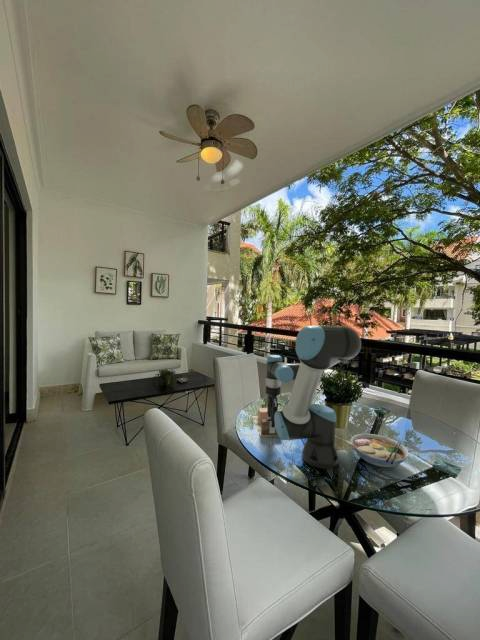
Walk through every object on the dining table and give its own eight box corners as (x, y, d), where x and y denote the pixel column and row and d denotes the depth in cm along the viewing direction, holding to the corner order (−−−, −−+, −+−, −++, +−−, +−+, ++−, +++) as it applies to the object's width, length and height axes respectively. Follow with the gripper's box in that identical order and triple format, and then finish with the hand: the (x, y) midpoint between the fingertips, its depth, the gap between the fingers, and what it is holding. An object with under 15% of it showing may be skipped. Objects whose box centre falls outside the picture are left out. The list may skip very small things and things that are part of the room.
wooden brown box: (283, 436, 148) (284, 421, 147) (260, 436, 146) (260, 421, 146) (271, 416, 171) (272, 404, 171) (251, 417, 170) (252, 404, 169)
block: (270, 422, 162) (271, 411, 162) (260, 422, 161) (260, 412, 161) (268, 418, 168) (268, 407, 168) (257, 418, 167) (258, 408, 167)
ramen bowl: (359, 442, 144) (360, 426, 143) (412, 460, 129) (414, 442, 129) (340, 463, 124) (342, 445, 124) (400, 487, 110) (402, 466, 109)
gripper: (262, 381, 154) (260, 424, 156) (269, 391, 138) (267, 439, 140) (276, 381, 155) (274, 424, 157) (285, 390, 139) (282, 438, 141)
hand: (271, 431), depth 148 cm, fingers closed on wooden brown box, 3 cm apart
